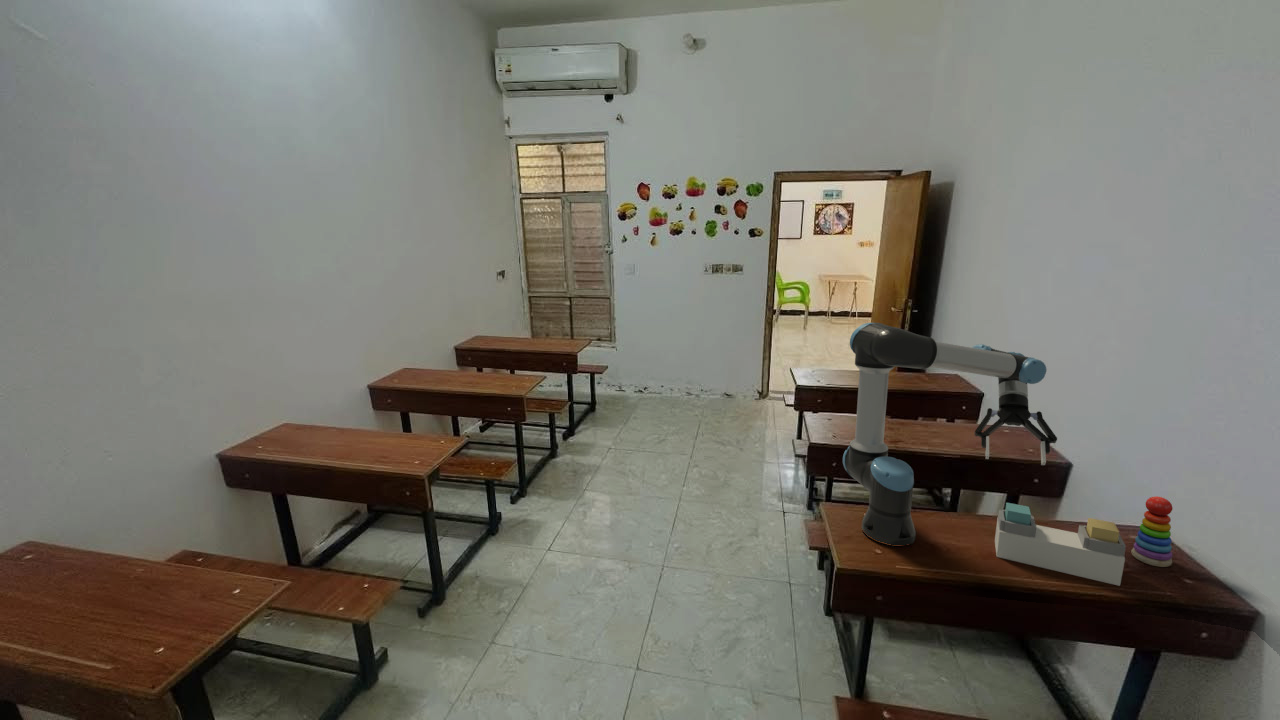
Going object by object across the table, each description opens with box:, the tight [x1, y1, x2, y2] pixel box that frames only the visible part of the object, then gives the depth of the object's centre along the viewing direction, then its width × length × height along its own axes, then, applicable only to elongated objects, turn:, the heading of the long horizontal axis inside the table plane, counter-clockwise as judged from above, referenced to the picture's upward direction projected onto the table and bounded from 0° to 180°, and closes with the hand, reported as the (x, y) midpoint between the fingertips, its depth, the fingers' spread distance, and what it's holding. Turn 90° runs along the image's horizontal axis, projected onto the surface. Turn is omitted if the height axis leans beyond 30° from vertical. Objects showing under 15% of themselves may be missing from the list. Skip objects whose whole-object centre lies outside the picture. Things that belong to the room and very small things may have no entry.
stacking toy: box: [1130, 496, 1173, 568], centre depth 135 cm, size 8×8×19 cm
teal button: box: [1004, 502, 1032, 525], centre depth 140 cm, size 5×5×4 cm
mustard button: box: [1086, 517, 1120, 543], centre depth 130 cm, size 5×5×4 cm
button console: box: [994, 509, 1127, 587], centre depth 136 cm, size 26×9×11 cm, turn 58°
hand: (1014, 460), depth 149 cm, fingers open, 13 cm apart
